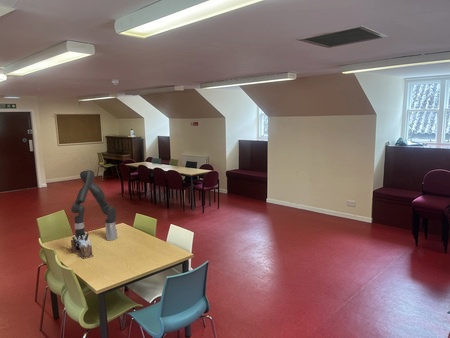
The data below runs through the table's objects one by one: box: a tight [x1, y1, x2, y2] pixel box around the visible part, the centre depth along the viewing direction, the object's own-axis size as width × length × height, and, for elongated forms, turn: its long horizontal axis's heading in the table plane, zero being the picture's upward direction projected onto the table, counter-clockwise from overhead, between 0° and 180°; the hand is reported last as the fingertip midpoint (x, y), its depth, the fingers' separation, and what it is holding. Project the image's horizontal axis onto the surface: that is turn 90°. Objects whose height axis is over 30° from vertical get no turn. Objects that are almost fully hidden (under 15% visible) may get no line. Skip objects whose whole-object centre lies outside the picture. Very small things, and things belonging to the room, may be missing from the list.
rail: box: [75, 238, 88, 248], centre depth 279 cm, size 4×22×6 cm, turn 46°
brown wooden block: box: [70, 239, 94, 260], centre depth 280 cm, size 8×29×9 cm, turn 46°
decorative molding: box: [75, 231, 93, 247], centre depth 310 cm, size 34×5×10 cm
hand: (81, 246), depth 280 cm, fingers closed on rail, 4 cm apart
